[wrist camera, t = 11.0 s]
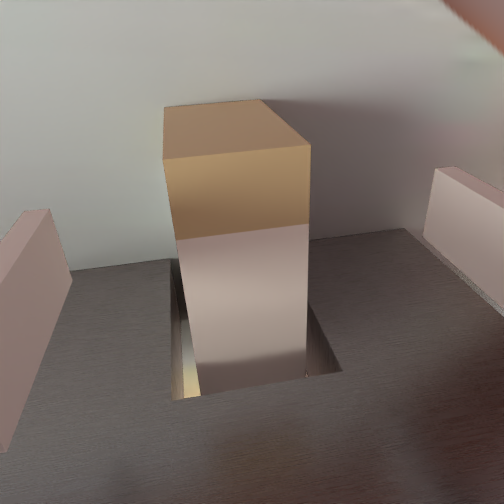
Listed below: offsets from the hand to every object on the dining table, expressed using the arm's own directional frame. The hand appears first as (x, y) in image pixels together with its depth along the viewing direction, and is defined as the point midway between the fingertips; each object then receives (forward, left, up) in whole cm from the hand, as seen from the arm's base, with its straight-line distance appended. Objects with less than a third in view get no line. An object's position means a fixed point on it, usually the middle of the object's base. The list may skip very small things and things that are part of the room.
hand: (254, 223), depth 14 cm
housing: (+6, -7, -10) cm, 13 cm away
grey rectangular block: (+6, -7, -10) cm, 13 cm away
